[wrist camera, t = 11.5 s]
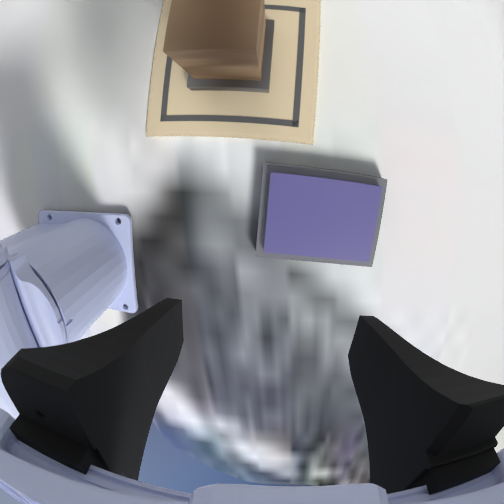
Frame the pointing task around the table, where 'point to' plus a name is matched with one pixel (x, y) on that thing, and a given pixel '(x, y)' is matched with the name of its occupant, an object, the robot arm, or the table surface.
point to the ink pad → (319, 215)
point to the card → (241, 102)
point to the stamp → (221, 44)
